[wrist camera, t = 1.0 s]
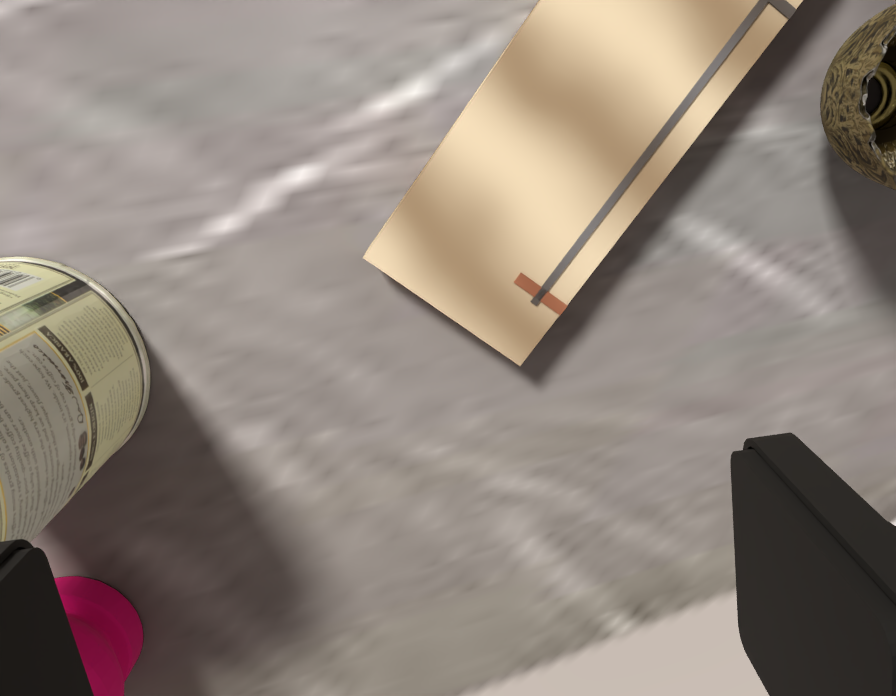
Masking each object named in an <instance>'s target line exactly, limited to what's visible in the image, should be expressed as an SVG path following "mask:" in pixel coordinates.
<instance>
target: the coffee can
mask: <svg viewBox="0 0 896 696" xmlns="http://www.w3.org/2000/svg"><path fill="white" fill-rule="evenodd" d="M149 391H150V368H149V361H148V356H147V352H146V349H145V346H144V343H143V340H142V338H141V336H140V334H139V332H138V330H137V328H136V325H135V323H134V321H133V320H132V319H131V317H130V316H129V315H128V314H127V313H126V311H125V310H124V308H123V307H122V306H121V305H120V303H119V302H118V301H117V300H116V299H115V298H114V297H113V296H112V295H111V294H110V293H109V292H108V291H107V290H106V289H104V288H103V287H102V286H101V285H99V284H98V283H97V282H95V281H94V280H93V279H91V278H89V277H88V276H86V275H84V274H83V273H81V272H79V271H77V270H75V269H72V268H70V267H68V266H66V265H64V264H61V263H56V262H53V261H49V260H44V259H39V258H30V257H5V258H0V542H3V541H10V540H17V539H24V540H27V541H28V542H29V543H30V542H31V541H32V540H33V539H34V538H35V537H36V536H37V535H38V534H39V533H40V532H41V530H42V529H43V528H44V527H45V526H46V525H47V524H48V523H49V522H50V521H51V520H52V519H53V518H54V517H55V515H56V514H57V513H58V512H59V511H60V510H61V509H62V508H63V507H64V506H65V505H66V504H67V503H68V502H69V500H70V499H71V498H72V497H73V496H74V495H75V494H76V493H77V492H78V491H79V490H80V489H81V488H82V487H83V485H84V484H85V483H86V482H87V481H88V480H89V479H90V478H91V477H92V476H93V475H94V474H95V473H96V472H97V470H98V469H99V468H100V467H101V466H102V465H103V464H104V463H105V462H106V461H107V460H108V459H109V458H110V456H111V455H113V454H114V453H115V452H117V451H118V450H119V449H120V448H121V447H122V446H123V445H124V444H125V443H126V442H127V441H128V440H129V439H130V437H131V436H132V435H133V433H134V432H135V430H136V429H137V427H138V426H139V424H140V422H141V420H142V418H143V415H144V413H145V411H146V409H147V404H148V399H149Z"/></svg>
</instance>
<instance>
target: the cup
mask: <svg viewBox="0 0 896 696" xmlns="http://www.w3.org/2000/svg"><path fill="white" fill-rule="evenodd" d="M872 77H873V78H874V79H876V80H877V81H878V83H879V84H880V87H881V91H882V96H881V100H880V103H879V105H878V107H877V108H876V109H875V110H874V111H873V112H872V113H871V114H868V113H867V112H866V108H865V103H866V99H867V96H868V93H867V85H868V82H869V80H870V79H871V78H872ZM820 108H821V118H822V124H823V127H824V131H825V133H826V136H827V138H828V141H829V142H830V144H831V146H832V148H833V149H834V150H835V152H836V153H837V154H838V156H839V157H840V158H841V159H842V160H843V161H844V162H845V163H846V164H848V165H849V166H850V167H851V168H853V169H854V170H855V171H857V172H859V173H860V174H862V175H864V176H865V177H867V178H869V179H871V180H873V181H875V182H877V183H880V184H882V185H884V186H887V187H889V188H892V189H894V190H896V4H894V5H892V6H890V7H889V8H887V9H885V10H883V11H882V12H880V13H878V14H877V15H875V16H874V17H872V18H871V19H870V20H868V21H867V22H865V23H864V24H863V25H862V26H861V27H860V28H859V29H857V30H856V31H855V32H854V33H853V34H852V35H851V36H850V37H849V38H848V39H847V40H846V41H845V43H844V44H843V45H842V47H841V48H840V49H839V51H838V52H837V54H836V56H835V57H834V59H833V61H832V63H831V65H830V67H829V69H828V71H827V74H826V77H825V79H824V83H823V87H822V93H821V103H820Z"/></svg>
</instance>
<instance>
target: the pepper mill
mask: <svg viewBox="0 0 896 696" xmlns="http://www.w3.org/2000/svg"><path fill="white" fill-rule="evenodd" d="M54 580H55V583H56V586H57V589H58V592H59V594H60V597H61V600H62V603H63V606H64V609H65V612H66V615H67V618H68V621H69V624H70V627H71V630H72V633H73V636H74V638H75V641H76V644H77V647H78V650H79V653H80V656H81V659H82V662H83V665H84V668H85V671H86V674H87V677H88V680H89V682H90V685H91V688H92V691H93V694H94V696H124V682H125V680H126V679H127V677H128V675H129V674H130V672H131V670H132V668H133V666H134V665H135V663H136V661H137V659H138V657H139V655H140V653H141V650H142V645H143V629H142V624H141V621H140V619H139V616H138V614H137V612H136V610H135V609H134V607H133V606H132V605H131V603H130V602H129V601H128V600H127V599H126V598H125V597H124V596H123V595H122V594H121V593H119V592H118V591H117V590H116V589H114V588H112V587H110V586H108V585H106V584H104V583H102V582H101V581H98V580H93V579H89V578H84V577H80V576H69V577H59V578H55V579H54Z"/></svg>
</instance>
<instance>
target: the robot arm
mask: <svg viewBox="0 0 896 696" xmlns="http://www.w3.org/2000/svg"><path fill="white" fill-rule="evenodd" d="M731 483H732V504H733V526H734V547H735V568H736V589H737V610H738V626H739V633H740V637H741V641H742V644H743V647H744V650H745V652H746V654H747V656H748V658H749V659H750V661H751V663H752V665H753V667H754V669H755V670H756V672H757V674H758V676H759V677H760V679H761V681H762V683H763V685H764V686H765V688H766V690H767V692H768V694H769V695H770V696H896V526H894V525H893V524H891V523H890V522H887V521H886V520H885V519H884V518H883V517H882V516H881V515H880V514H879V513H878V512H877V511H875V510H874V509H873V508H872V507H871V506H870V505H869V504H868V503H867V502H866V501H865V500H864V499H863V498H862V497H860V496H859V495H858V494H857V493H856V492H855V491H854V490H853V489H852V488H851V487H850V486H849V485H848V484H847V483H846V482H844V481H843V480H842V479H841V478H840V477H839V476H838V475H837V474H836V473H835V472H834V471H833V470H832V469H831V468H830V467H828V466H827V465H826V464H825V463H824V462H823V461H822V460H821V459H820V458H819V457H818V456H817V455H816V454H815V453H813V452H812V451H811V450H810V449H809V448H808V447H807V446H806V445H805V444H804V443H803V442H802V441H801V440H800V439H799V438H797V437H796V436H795V435H794V434H792V433H785V434H777V435H770V436H763V437H756V438H749V439H746V441H745V442H744V446H743V450H741V451H734V452H733V453H732V455H731ZM0 696H94V694H93V691H92V688H91V685H90V682H89V680H88V677H87V674H86V671H85V668H84V665H83V662H82V659H81V656H80V653H79V650H78V647H77V644H76V641H75V638H74V636H73V633H72V630H71V627H70V624H69V621H68V618H67V615H66V612H65V609H64V606H63V603H62V600H61V597H60V594H59V592H58V589H57V586H56V583H55V580H54V577H53V574H52V571H51V568H50V565H49V562H48V559H47V557H46V555H45V553H44V552H43V551H42V550H41V549H40V548H37V547H36V548H34V547H33V546H32V545H31V544H30V543H29V542H28V541H27V540H24V539H17V540H10V541H3V542H0Z"/></svg>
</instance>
